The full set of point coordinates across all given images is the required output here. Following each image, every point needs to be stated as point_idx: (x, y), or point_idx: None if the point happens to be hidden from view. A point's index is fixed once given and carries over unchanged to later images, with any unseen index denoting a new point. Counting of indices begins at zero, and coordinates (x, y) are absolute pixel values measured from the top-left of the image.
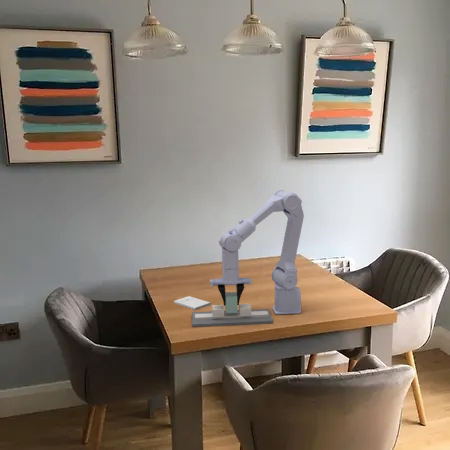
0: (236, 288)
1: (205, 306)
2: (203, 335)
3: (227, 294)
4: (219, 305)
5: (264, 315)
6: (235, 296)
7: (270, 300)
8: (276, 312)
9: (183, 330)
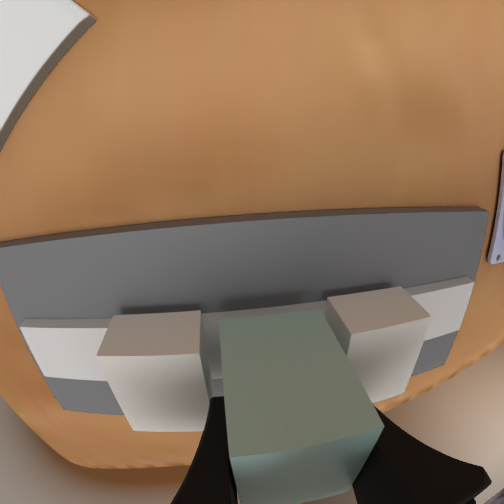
0: (398, 484)
1: (52, 67)
2: (142, 455)
3: (263, 488)
4: (166, 368)
5: (441, 332)
6: (332, 495)
7: (496, 38)
8: (496, 252)
9: (51, 415)
